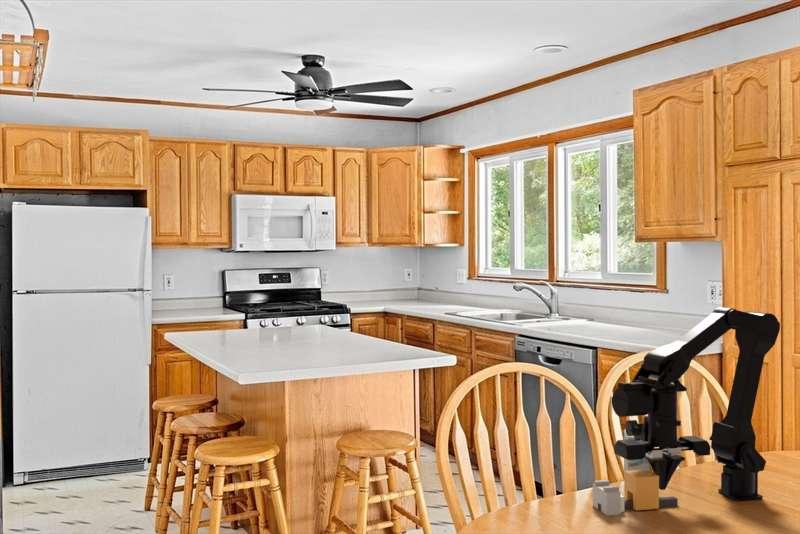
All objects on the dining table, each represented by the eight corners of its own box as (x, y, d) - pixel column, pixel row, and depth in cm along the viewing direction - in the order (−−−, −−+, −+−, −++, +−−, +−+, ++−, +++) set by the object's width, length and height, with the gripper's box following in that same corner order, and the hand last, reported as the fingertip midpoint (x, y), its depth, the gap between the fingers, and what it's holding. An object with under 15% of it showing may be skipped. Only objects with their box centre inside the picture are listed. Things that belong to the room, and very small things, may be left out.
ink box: (650, 492, 166) (650, 438, 165) (627, 491, 167) (627, 437, 166) (645, 481, 174) (646, 429, 174) (623, 479, 175) (623, 428, 175)
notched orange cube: (646, 500, 159) (646, 469, 159) (658, 508, 155) (658, 476, 154) (624, 502, 158) (624, 470, 158) (636, 510, 154) (636, 477, 153)
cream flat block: (615, 505, 157) (615, 491, 157) (624, 511, 154) (624, 496, 154) (611, 506, 157) (611, 491, 157) (619, 512, 153) (619, 497, 153)
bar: (673, 503, 159) (673, 496, 159) (677, 505, 157) (677, 498, 157) (597, 509, 155) (597, 502, 155) (601, 511, 154) (601, 504, 154)
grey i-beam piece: (606, 504, 158) (606, 479, 158) (620, 514, 152) (620, 487, 152) (592, 505, 157) (592, 480, 157) (606, 515, 152) (606, 488, 151)
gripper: (681, 403, 167) (680, 475, 167) (601, 407, 163) (601, 480, 163) (712, 414, 156) (711, 490, 156) (628, 418, 152) (627, 497, 152)
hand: (661, 489), depth 157 cm, fingers closed
